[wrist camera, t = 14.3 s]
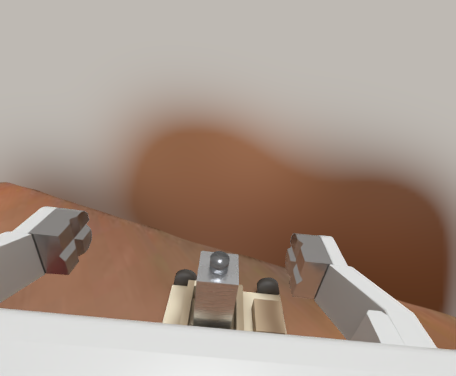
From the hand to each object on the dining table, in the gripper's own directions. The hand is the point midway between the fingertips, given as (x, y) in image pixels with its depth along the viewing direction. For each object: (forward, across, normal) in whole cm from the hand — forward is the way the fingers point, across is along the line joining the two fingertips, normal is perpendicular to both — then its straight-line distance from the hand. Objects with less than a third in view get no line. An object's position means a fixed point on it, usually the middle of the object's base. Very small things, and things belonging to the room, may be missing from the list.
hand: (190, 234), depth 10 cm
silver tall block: (+15, -2, +28) cm, 32 cm away
